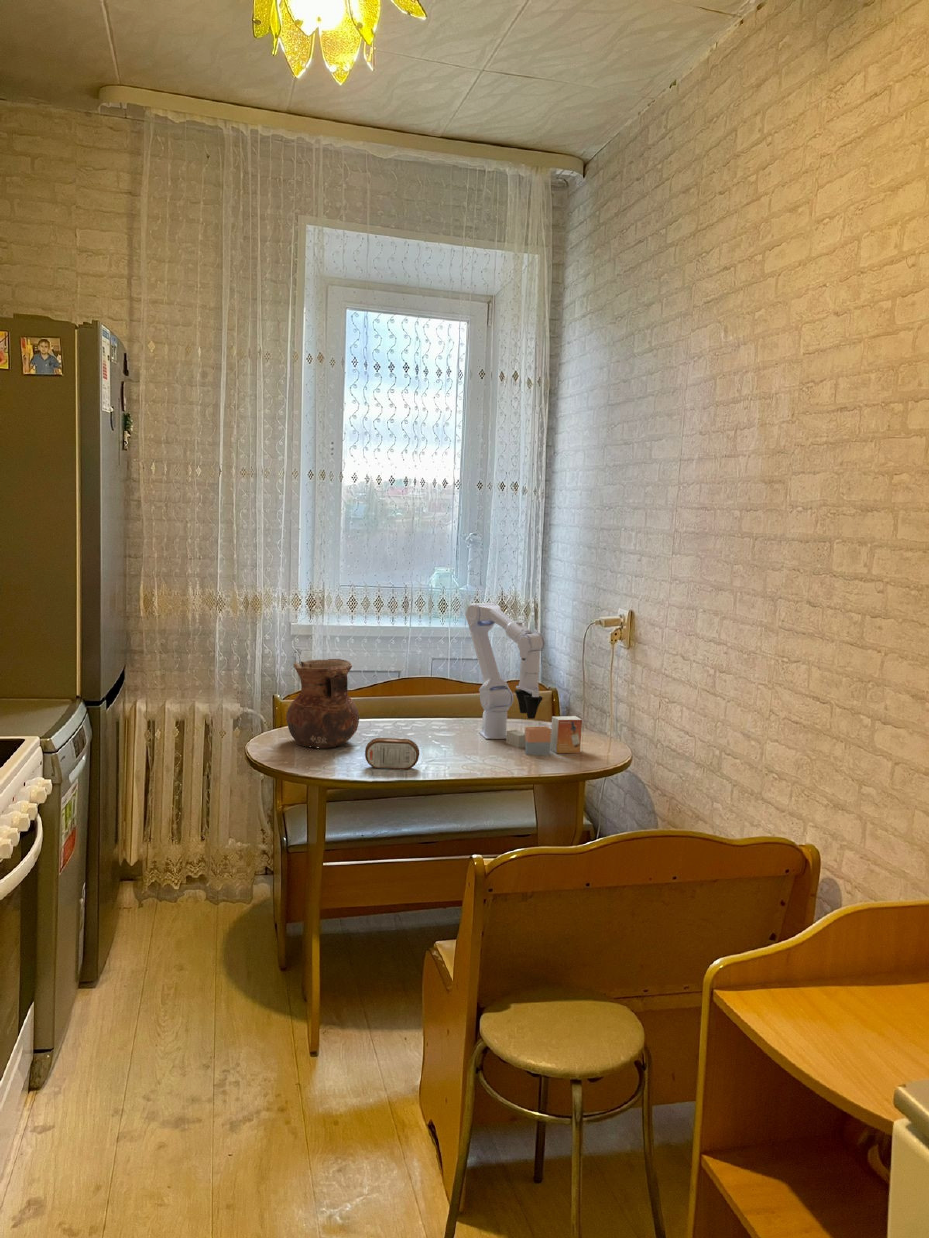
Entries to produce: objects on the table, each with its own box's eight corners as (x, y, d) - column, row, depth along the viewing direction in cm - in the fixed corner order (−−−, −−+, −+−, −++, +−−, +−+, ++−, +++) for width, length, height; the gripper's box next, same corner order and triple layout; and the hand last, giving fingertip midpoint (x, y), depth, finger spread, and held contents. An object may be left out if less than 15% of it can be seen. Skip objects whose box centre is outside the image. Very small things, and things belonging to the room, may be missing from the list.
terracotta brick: (524, 739, 278) (525, 726, 278) (546, 739, 280) (547, 726, 279) (528, 742, 275) (529, 729, 274) (550, 742, 276) (551, 729, 276)
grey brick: (518, 748, 284) (518, 735, 283) (505, 743, 290) (506, 730, 289) (527, 747, 286) (528, 734, 285) (515, 742, 292) (515, 729, 291)
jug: (271, 744, 275) (272, 662, 272) (313, 731, 293) (315, 654, 290) (331, 756, 264) (333, 670, 262) (371, 742, 283) (374, 662, 280)
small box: (556, 753, 278) (557, 719, 277) (549, 749, 284) (551, 715, 283) (580, 753, 281) (582, 719, 279) (573, 748, 286) (575, 715, 285)
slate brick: (525, 752, 279) (525, 739, 279) (547, 752, 280) (548, 739, 279) (526, 755, 276) (527, 741, 275) (549, 755, 276) (550, 742, 276)
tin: (418, 767, 256) (419, 738, 255) (418, 770, 253) (419, 741, 252) (364, 766, 256) (365, 736, 255) (363, 769, 252) (364, 739, 252)
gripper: (510, 668, 289) (508, 710, 290) (524, 676, 275) (522, 720, 276) (531, 668, 290) (529, 710, 292) (546, 676, 276) (544, 720, 278)
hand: (527, 715), depth 284 cm, fingers open, 7 cm apart
